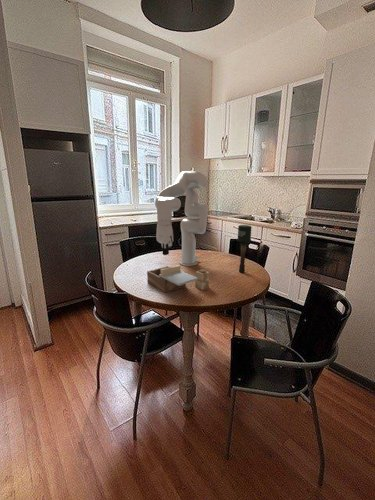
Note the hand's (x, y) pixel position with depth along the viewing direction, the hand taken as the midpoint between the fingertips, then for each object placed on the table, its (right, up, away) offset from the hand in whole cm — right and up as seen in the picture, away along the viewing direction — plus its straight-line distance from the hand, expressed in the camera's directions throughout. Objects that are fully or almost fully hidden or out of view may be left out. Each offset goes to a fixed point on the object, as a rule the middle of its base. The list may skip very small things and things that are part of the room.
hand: (165, 254), depth 141 cm
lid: (+7, -12, -10) cm, 17 cm away
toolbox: (0, -17, 0) cm, 17 cm away
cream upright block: (+20, -18, -3) cm, 27 cm away
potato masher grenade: (+47, -12, +20) cm, 53 cm away
